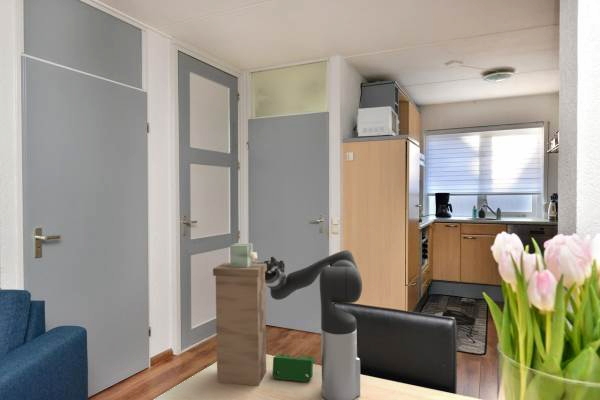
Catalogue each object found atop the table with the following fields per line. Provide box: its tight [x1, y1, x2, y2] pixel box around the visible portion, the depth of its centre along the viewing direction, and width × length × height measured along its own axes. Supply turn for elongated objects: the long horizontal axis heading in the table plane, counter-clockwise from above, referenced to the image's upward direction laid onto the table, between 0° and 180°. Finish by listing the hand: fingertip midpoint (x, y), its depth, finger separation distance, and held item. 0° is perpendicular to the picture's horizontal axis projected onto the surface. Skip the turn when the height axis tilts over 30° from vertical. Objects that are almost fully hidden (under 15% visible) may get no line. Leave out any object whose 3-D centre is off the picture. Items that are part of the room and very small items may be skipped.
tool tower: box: [212, 262, 267, 386], centre depth 110 cm, size 9×13×32 cm
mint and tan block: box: [229, 242, 258, 267], centre depth 115 cm, size 14×5×6 cm, turn 170°
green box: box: [272, 353, 316, 383], centre depth 111 cm, size 12×6×9 cm, turn 72°
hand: (259, 259), depth 129 cm, fingers open, 8 cm apart
